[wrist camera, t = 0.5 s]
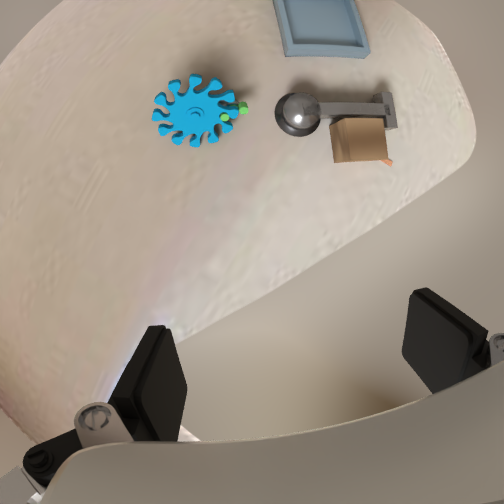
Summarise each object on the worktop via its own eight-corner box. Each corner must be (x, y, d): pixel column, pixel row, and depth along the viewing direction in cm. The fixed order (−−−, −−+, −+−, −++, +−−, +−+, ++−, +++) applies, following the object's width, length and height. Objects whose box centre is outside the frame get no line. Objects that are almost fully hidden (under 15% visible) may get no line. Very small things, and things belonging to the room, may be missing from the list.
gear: (155, 152, 32) (147, 82, 23) (159, 126, 35) (155, 62, 26) (243, 149, 34) (254, 79, 25) (239, 123, 37) (247, 60, 28)
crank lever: (284, 133, 33) (287, 130, 31) (278, 97, 32) (281, 91, 29) (388, 130, 33) (397, 127, 31) (382, 96, 32) (391, 92, 30)
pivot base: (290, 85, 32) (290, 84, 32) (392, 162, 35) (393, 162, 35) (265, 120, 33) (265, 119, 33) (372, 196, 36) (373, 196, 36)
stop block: (329, 126, 34) (344, 118, 28) (362, 125, 34) (382, 118, 28) (334, 162, 35) (350, 161, 29) (367, 160, 35) (388, 159, 29)
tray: (271, -4, 28) (273, -13, 25) (345, -1, 28) (350, -8, 25) (285, 56, 31) (288, 49, 28) (363, 58, 31) (370, 52, 28)
